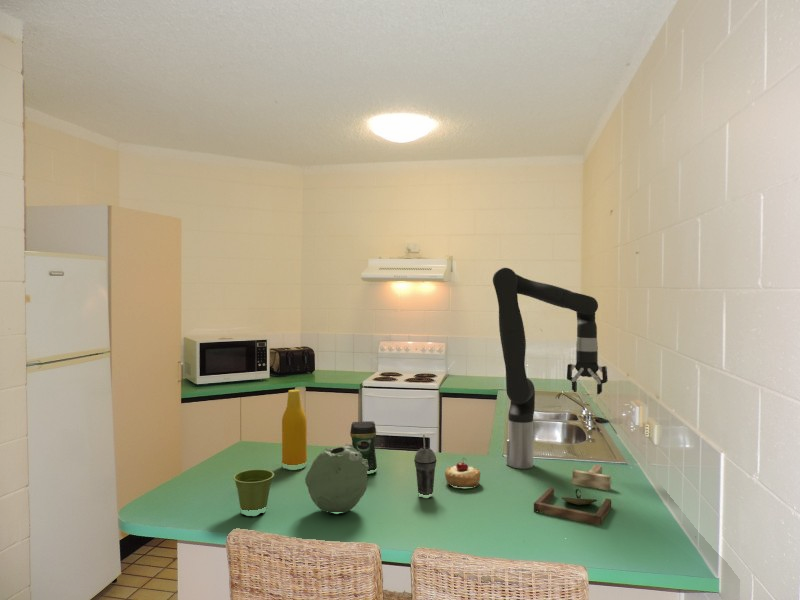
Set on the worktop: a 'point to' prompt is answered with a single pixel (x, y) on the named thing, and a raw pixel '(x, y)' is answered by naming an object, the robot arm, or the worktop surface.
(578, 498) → the lid
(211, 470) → the worktop surface
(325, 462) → the round grey vase
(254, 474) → the plant pot
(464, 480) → the pastry
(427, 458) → the beverage cup
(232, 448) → the worktop surface
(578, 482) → the wooden pusher
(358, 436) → the coffee jar
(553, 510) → the walnut bay
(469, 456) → the worktop surface
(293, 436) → the beer bottle
